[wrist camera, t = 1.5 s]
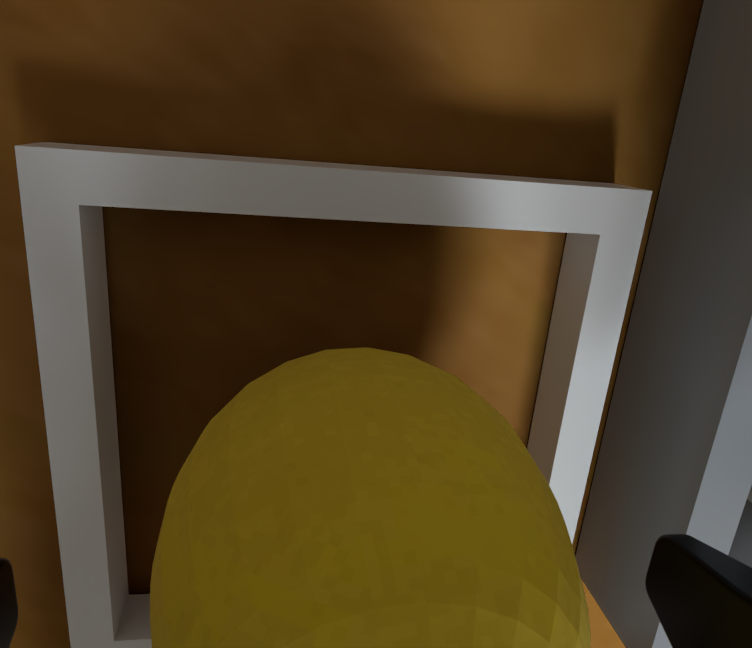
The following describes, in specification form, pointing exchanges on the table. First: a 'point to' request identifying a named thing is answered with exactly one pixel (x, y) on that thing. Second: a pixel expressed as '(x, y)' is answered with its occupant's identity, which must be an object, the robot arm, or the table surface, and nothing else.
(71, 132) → the table surface
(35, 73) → the table surface
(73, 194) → the frame
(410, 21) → the table surface
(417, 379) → the lemon
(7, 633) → the robot arm
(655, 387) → the grey double frame tray
